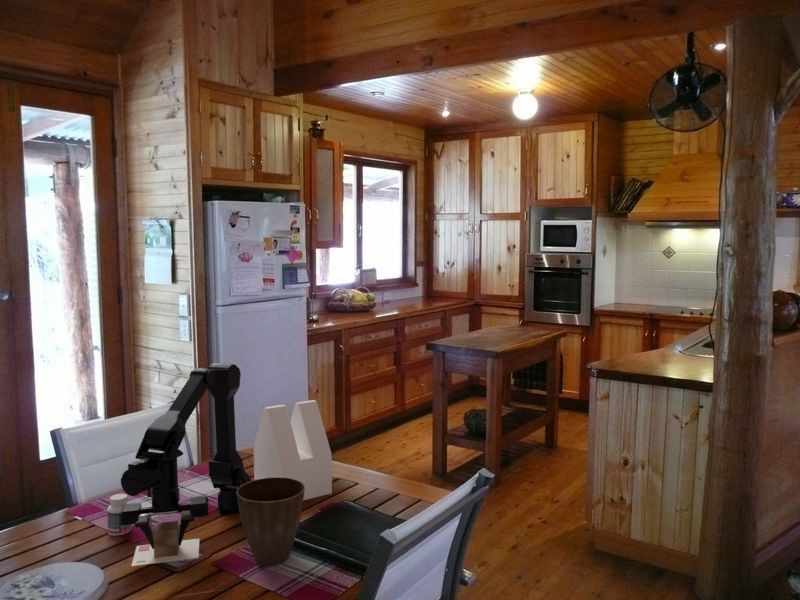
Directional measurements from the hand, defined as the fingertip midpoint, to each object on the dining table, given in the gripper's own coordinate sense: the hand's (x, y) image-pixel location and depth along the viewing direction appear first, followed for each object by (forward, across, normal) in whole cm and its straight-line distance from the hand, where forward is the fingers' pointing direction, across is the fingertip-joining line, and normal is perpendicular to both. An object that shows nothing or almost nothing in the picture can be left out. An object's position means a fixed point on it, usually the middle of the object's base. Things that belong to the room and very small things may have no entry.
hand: (166, 546), depth 148 cm
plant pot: (+2, -23, +9) cm, 25 cm away
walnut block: (+1, 0, 0) cm, 1 cm away
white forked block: (+2, -32, -32) cm, 45 cm away
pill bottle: (+2, +12, -15) cm, 19 cm away
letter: (+2, 0, 0) cm, 2 cm away
